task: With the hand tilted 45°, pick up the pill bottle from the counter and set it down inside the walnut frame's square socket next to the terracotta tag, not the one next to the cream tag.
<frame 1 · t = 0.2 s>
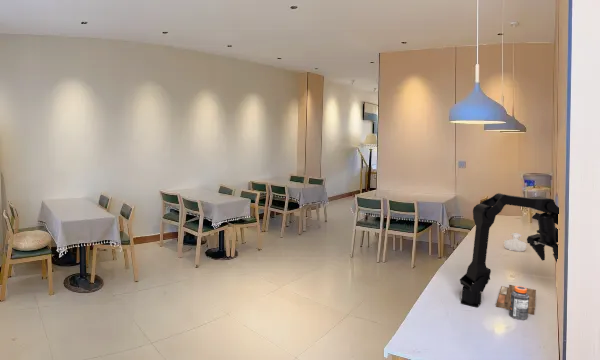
hand: (551, 263, 162), 15 cm above the counter, tool pointing down, fingers open, 9 cm apart
socket frame: (520, 301, 161), on the counter
white tied bag: (514, 250, 236), on the counter
pill bottle: (518, 317, 148), on the counter
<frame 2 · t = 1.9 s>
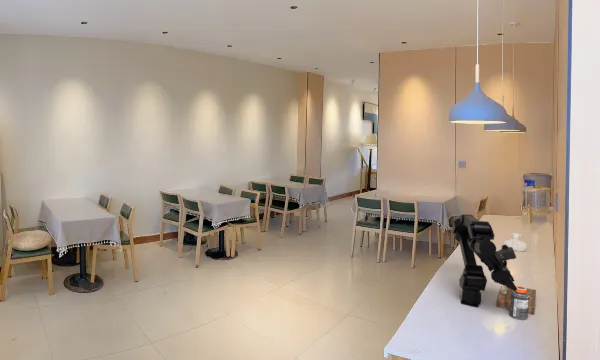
hand: (514, 285, 147), 12 cm above the counter, tool tilted 45°, fingers open, 9 cm apart
nothing on the counter moved.
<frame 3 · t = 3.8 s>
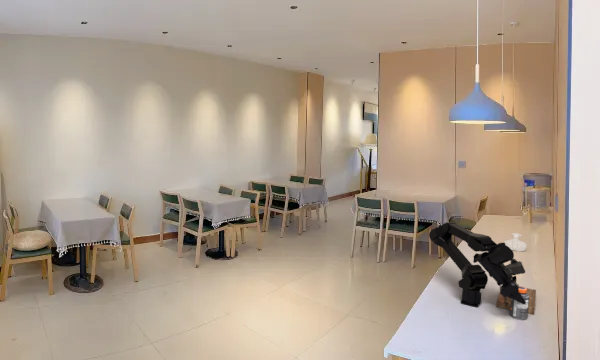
hand: (524, 300, 146), 7 cm above the counter, tool tilted 45°, fingers closed on pill bottle, 6 cm apart
pill bottle: (518, 317, 148), on the counter, touching gripper
everything else where it was.
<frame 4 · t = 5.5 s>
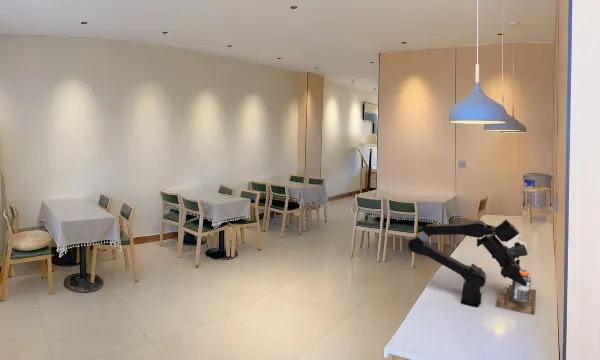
hand: (525, 282, 149), 12 cm above the counter, tool tilted 45°, fingers closed on pill bottle, 6 cm apart
pill bottle: (519, 299, 151), point 5 cm above the counter, touching gripper
everything else where it was.
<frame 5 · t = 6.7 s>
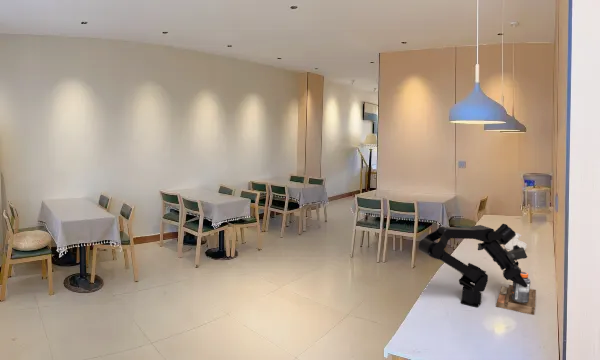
hand: (525, 283, 155), 9 cm above the counter, tool tilted 45°, fingers closed on pill bottle, 6 cm apart
pill bottle: (519, 300, 157), point 2 cm above the counter, touching gripper
everything else where it was.
when the fingers open (8 cm above the counter, at t = 7.5 s): pill bottle stays where it is, resting on socket frame.
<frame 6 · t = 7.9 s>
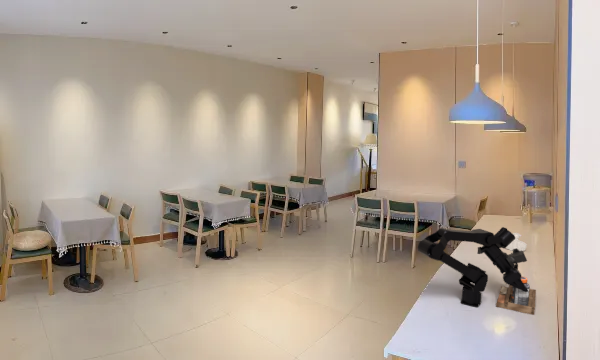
hand: (525, 287, 155), 8 cm above the counter, tool tilted 45°, fingers open, 9 cm apart
pill bottle: (519, 305, 157), resting on socket frame
everything else where it was.
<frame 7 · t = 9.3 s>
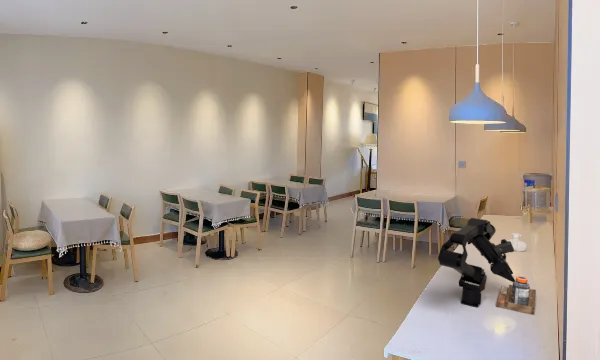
hand: (513, 277, 156), 12 cm above the counter, tool tilted 45°, fingers open, 9 cm apart
nothing on the counter moved.
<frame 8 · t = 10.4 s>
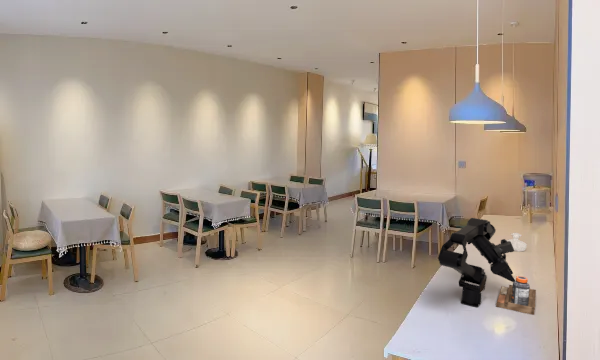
hand: (513, 277, 156), 12 cm above the counter, tool tilted 45°, fingers open, 9 cm apart
nothing on the counter moved.
at the end: pill bottle 0.3 cm from the target spot on the socket frame, point 0.3 cm above the socket frame's base; pill bottle tilted 0°; the gripper is holding nothing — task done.
